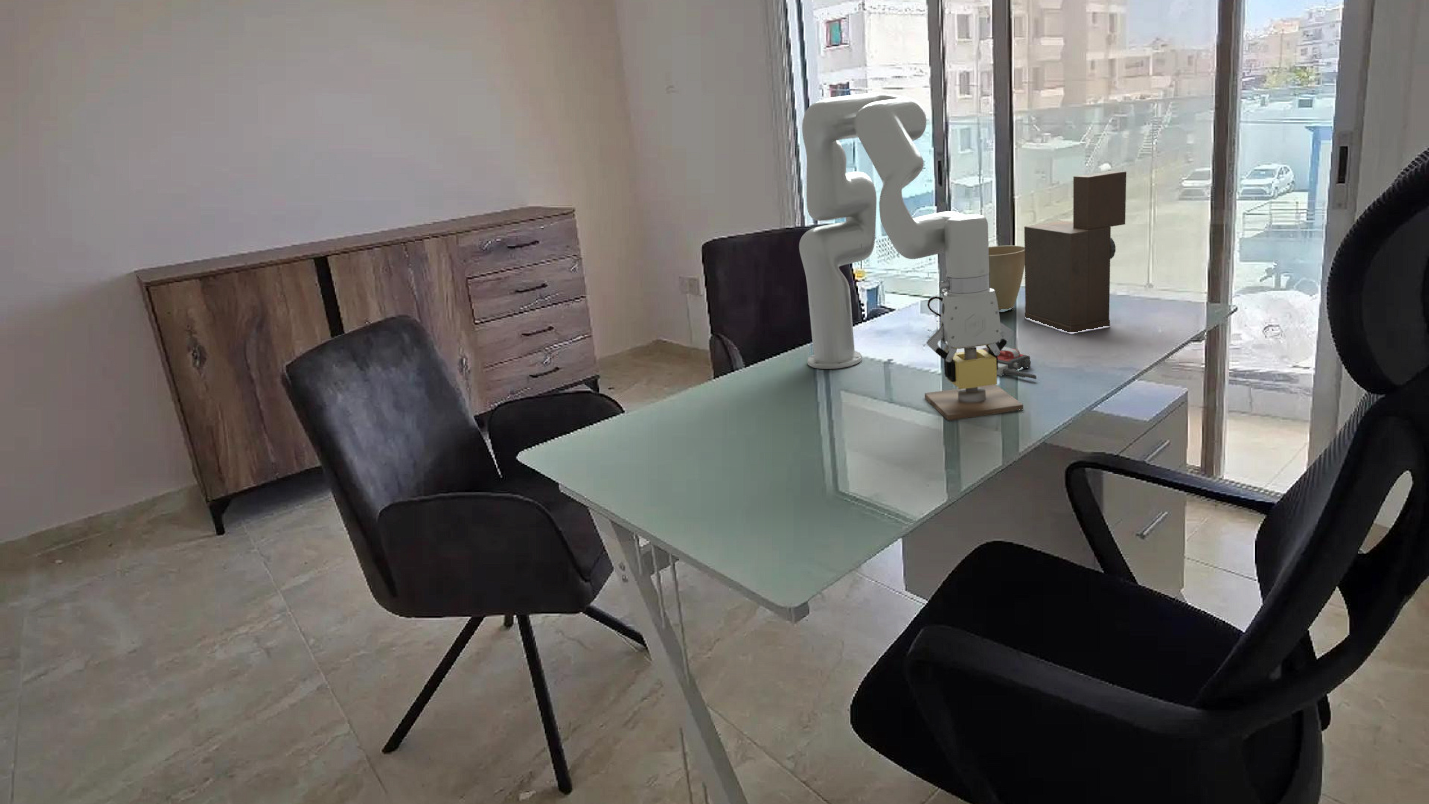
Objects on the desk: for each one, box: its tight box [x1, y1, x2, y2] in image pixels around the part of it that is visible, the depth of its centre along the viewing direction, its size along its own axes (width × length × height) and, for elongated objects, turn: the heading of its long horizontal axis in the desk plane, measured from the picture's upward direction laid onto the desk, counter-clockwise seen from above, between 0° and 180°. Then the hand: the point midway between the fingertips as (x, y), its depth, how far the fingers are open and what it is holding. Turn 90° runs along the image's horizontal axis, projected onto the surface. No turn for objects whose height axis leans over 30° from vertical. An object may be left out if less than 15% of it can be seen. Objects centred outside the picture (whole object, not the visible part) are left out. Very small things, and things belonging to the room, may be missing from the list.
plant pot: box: [989, 245, 1025, 310], centre depth 230 cm, size 15×15×16 cm
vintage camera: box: [1023, 170, 1127, 332], centre depth 207 cm, size 19×14×35 cm
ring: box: [946, 348, 998, 389], centre depth 164 cm, size 7×7×5 cm
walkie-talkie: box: [978, 346, 1037, 380], centre depth 183 cm, size 9×4×20 cm
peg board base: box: [924, 347, 1024, 421], centre depth 164 cm, size 14×14×11 cm
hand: (971, 376), depth 164 cm, fingers closed on ring, 7 cm apart
